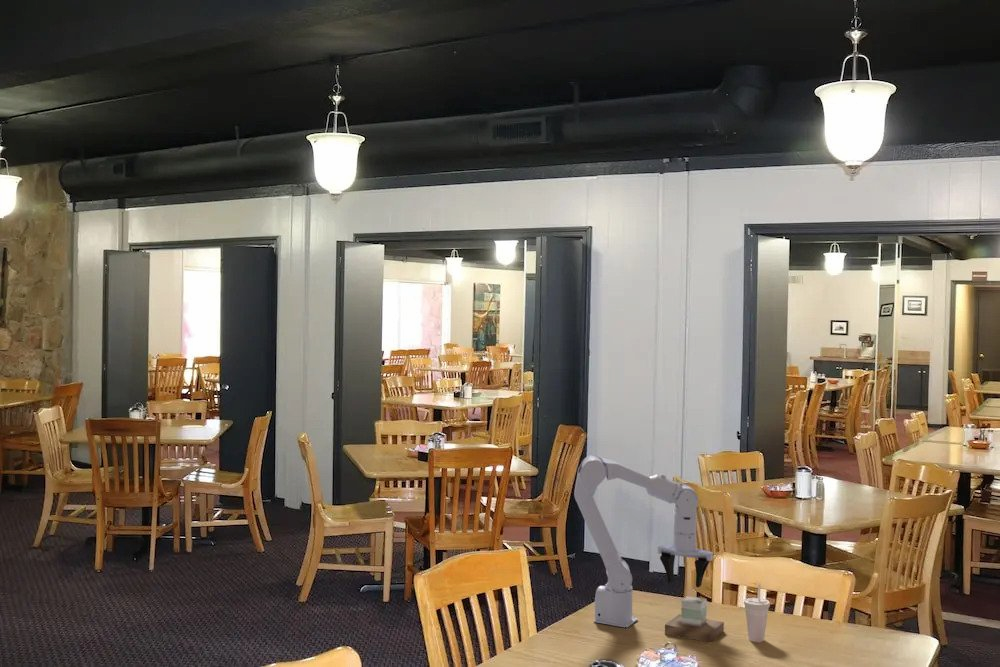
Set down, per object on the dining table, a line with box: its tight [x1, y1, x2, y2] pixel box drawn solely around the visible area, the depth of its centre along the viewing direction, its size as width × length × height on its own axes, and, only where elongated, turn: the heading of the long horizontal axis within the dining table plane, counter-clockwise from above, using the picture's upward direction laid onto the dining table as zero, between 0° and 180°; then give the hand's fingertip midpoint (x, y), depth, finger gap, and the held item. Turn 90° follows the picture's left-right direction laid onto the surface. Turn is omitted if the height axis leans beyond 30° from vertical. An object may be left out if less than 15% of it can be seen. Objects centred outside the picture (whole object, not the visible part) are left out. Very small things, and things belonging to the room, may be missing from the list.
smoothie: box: [743, 583, 771, 643], centre depth 242 cm, size 6×6×14 cm
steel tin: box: [680, 595, 708, 627], centre depth 247 cm, size 5×5×6 cm
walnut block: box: [664, 613, 725, 643], centre depth 247 cm, size 12×10×3 cm
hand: (684, 584), depth 254 cm, fingers open, 7 cm apart
